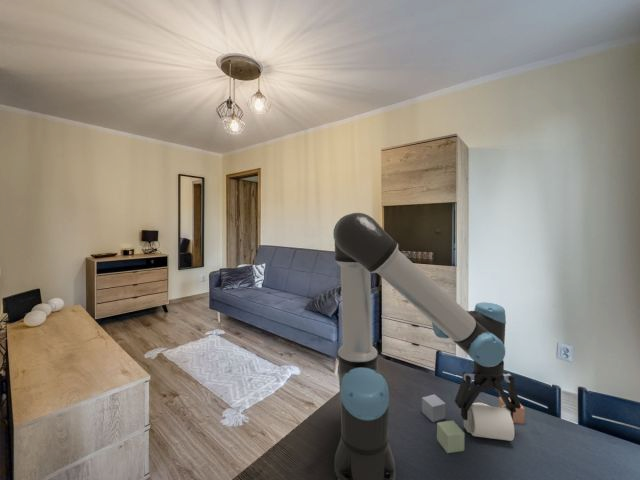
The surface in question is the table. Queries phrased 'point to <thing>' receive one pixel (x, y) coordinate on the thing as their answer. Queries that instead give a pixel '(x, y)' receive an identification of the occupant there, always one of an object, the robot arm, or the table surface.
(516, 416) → the terracotta block
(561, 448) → the table surface
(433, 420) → the slate block
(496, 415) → the mug
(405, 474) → the table surface
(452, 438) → the sage block
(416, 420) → the table surface
